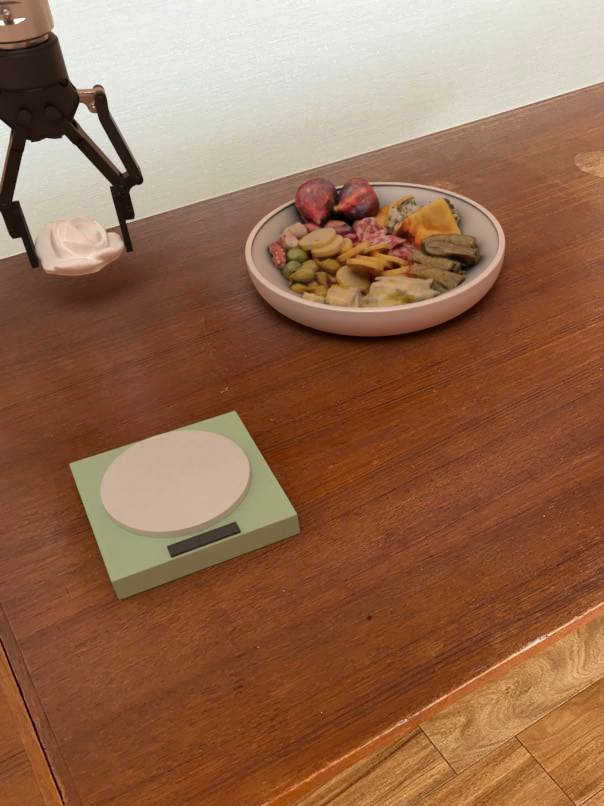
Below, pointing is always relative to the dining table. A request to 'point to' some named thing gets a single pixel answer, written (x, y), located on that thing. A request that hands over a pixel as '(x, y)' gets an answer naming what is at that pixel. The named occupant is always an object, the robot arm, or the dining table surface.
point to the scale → (181, 503)
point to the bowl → (374, 256)
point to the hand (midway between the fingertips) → (82, 254)
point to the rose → (76, 246)
